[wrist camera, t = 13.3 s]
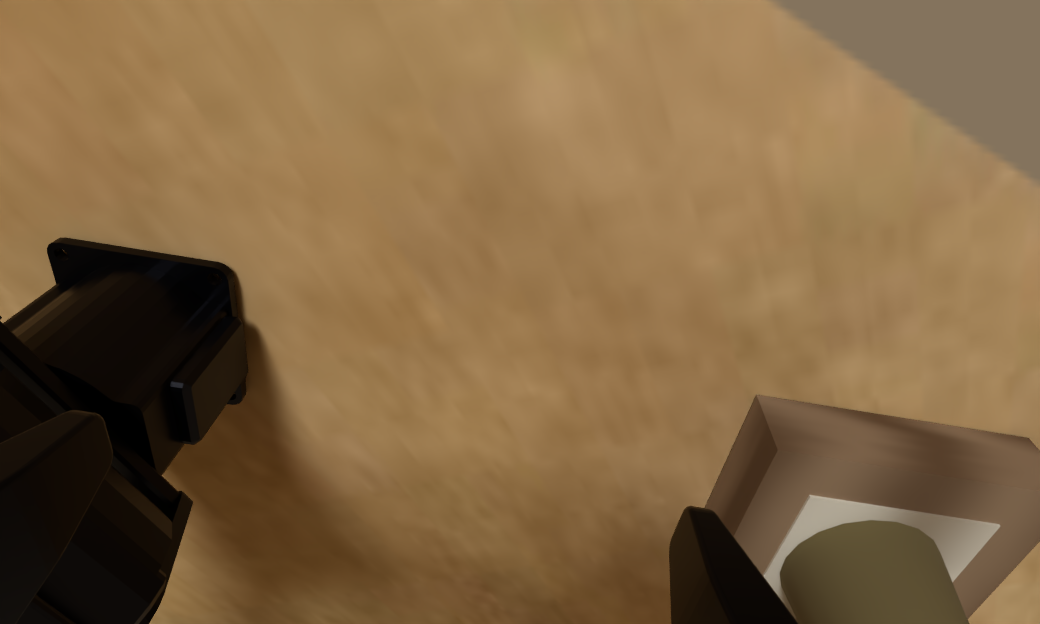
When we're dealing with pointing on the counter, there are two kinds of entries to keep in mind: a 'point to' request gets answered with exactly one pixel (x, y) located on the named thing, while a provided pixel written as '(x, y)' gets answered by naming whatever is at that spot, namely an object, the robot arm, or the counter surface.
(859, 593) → the olive green peg figure
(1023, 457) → the walnut plinth
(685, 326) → the counter surface
